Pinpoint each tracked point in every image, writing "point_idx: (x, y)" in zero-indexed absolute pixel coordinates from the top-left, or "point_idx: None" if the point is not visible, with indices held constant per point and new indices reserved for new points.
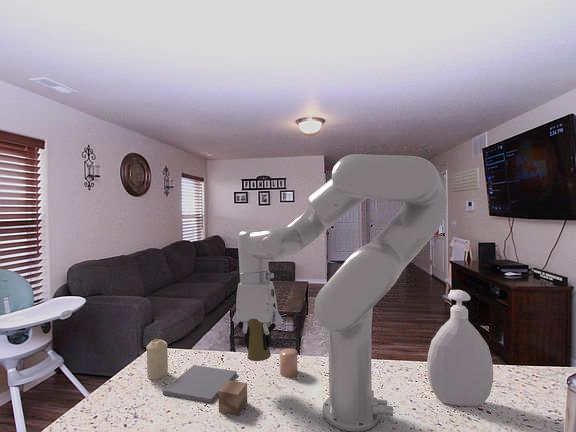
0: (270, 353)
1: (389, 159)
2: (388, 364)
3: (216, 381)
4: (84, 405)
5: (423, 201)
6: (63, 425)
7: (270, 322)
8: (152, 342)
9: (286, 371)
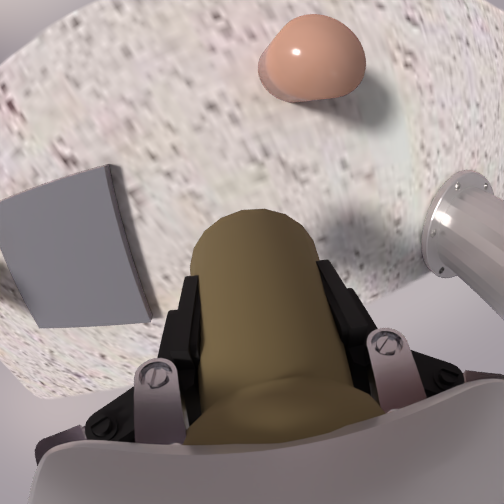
0: (314, 245)
1: None
2: (492, 20)
3: (94, 252)
4: (8, 368)
5: None
6: (39, 397)
7: (419, 399)
8: None
9: (304, 101)
